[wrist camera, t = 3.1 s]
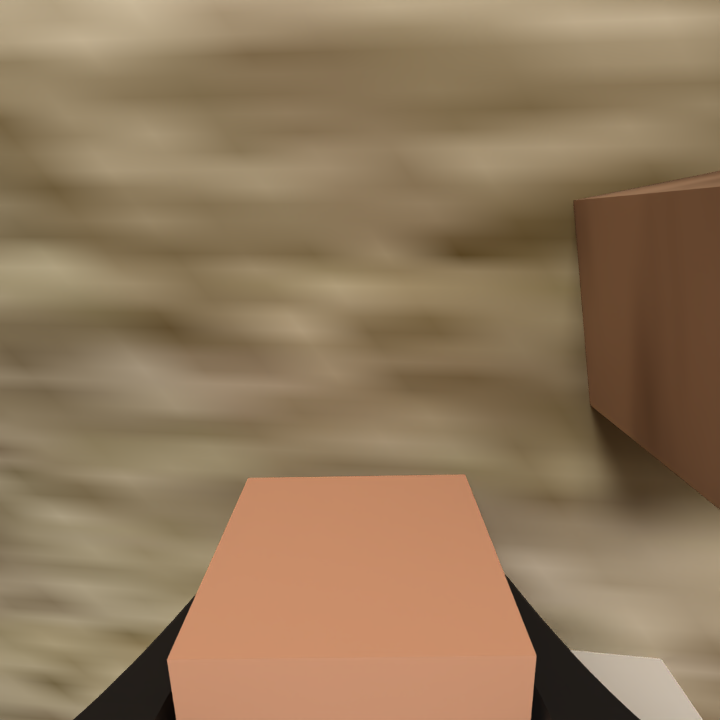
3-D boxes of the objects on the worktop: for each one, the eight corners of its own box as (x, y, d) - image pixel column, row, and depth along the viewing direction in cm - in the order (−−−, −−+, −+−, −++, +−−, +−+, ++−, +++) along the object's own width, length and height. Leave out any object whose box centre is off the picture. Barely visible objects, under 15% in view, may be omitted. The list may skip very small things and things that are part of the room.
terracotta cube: (464, 474, 12) (536, 655, 7) (458, 650, 13) (514, 905, 8) (247, 478, 12) (166, 659, 7) (263, 652, 13) (205, 907, 8)
